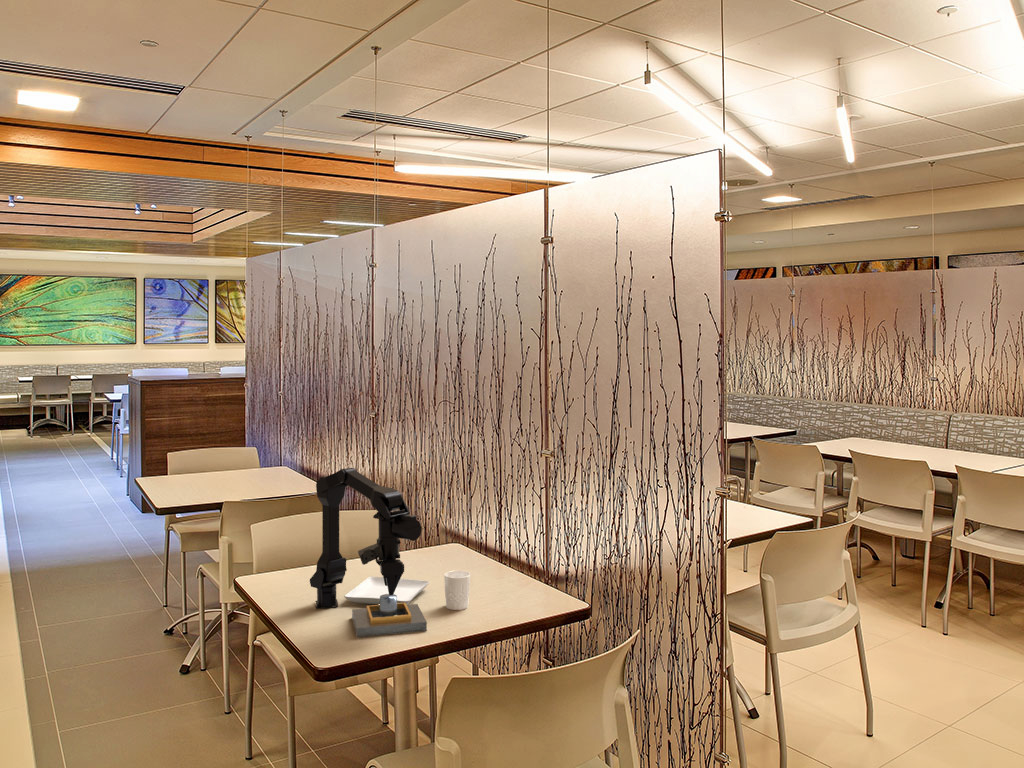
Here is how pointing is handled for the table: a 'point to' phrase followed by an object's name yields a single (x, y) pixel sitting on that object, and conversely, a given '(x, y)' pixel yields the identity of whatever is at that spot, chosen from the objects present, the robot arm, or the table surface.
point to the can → (388, 605)
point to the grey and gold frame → (388, 621)
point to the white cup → (457, 589)
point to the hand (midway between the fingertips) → (388, 590)
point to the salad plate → (385, 590)
